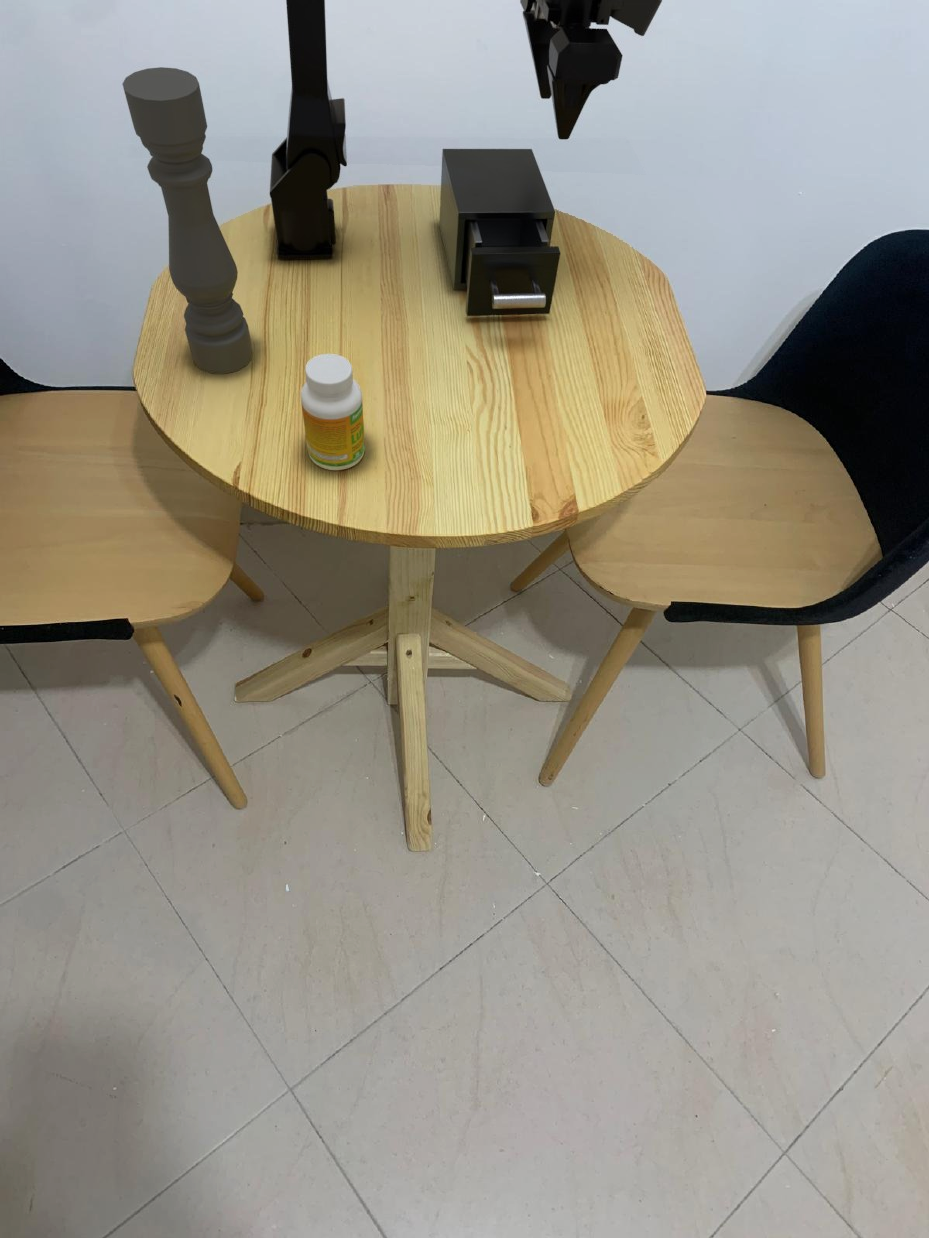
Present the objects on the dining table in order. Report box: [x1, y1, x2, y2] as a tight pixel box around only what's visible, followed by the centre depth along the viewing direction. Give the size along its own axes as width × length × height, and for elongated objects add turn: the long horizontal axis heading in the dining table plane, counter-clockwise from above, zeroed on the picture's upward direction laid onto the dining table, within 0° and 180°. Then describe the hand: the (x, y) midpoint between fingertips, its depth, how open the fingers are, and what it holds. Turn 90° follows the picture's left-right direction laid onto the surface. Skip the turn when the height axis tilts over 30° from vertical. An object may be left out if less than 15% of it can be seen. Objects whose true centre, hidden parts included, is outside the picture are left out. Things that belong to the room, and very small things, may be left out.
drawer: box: [462, 219, 561, 317], centre depth 85 cm, size 17×9×7 cm, turn 8°
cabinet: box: [438, 148, 556, 291], centre depth 90 cm, size 14×11×9 cm
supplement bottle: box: [300, 353, 366, 471], centre depth 70 cm, size 5×5×10 cm
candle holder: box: [122, 66, 254, 375], centre depth 70 cm, size 6×6×25 cm
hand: (554, 118), depth 84 cm, fingers open, 9 cm apart
